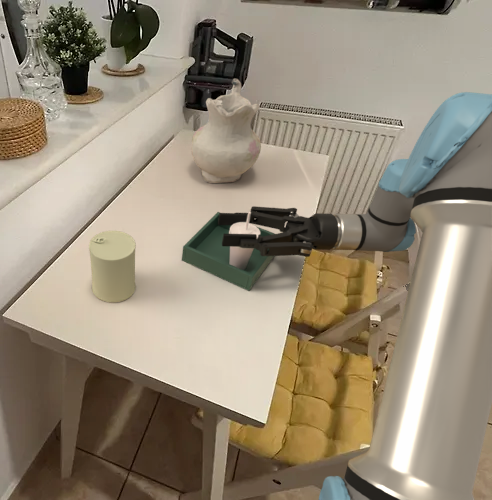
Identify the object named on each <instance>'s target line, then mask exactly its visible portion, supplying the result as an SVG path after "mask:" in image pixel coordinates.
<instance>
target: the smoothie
mask: <svg viewBox="0 0 492 500" xmlns="http://www.w3.org/2000/svg"><path fill="white" fill-rule="evenodd" d="M247 213H248V216H247V221H246V222H238V223H235V224H233V225H232V226H231V227H230V230H229V234H256V235H257V238H256V239H258V235H259V234H260V230H259V229H258V228H257V227H258V226H257V225H256V224H251V223H249V220H250V216H251V212H250V211H248V212H247ZM253 249H254V248H241V247H232V246H230V262H229V264H230V265H232V266H235V267H237V268H239V269H241V270H244V269H245V268H246V266H247V264H248V261H249V259H250V257H251V254H252V252H253Z"/></svg>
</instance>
